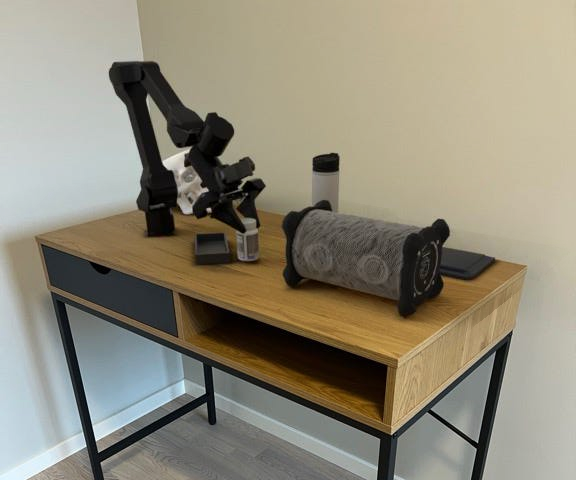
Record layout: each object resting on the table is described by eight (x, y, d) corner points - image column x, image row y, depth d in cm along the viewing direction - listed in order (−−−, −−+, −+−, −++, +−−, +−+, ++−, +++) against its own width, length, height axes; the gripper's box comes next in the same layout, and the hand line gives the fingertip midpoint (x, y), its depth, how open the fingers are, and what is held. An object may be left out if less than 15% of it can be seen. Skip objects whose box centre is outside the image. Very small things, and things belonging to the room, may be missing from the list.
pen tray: (230, 262, 131) (229, 252, 130) (196, 264, 130) (195, 254, 129) (226, 241, 145) (225, 232, 144) (195, 243, 144) (194, 233, 143)
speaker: (408, 323, 103) (417, 238, 95) (279, 288, 118) (277, 212, 110) (444, 296, 113) (455, 217, 106) (321, 267, 128) (322, 196, 121)
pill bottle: (260, 254, 133) (259, 217, 129) (257, 261, 129) (256, 223, 125) (239, 254, 134) (237, 217, 130) (236, 261, 130) (234, 223, 126)
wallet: (383, 254, 129) (415, 237, 140) (382, 262, 130) (414, 245, 141) (470, 272, 119) (498, 253, 129) (468, 281, 120) (496, 261, 130)
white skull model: (201, 213, 160) (172, 144, 156) (161, 236, 174) (134, 173, 170) (235, 203, 169) (209, 138, 165) (195, 226, 183) (170, 166, 180)
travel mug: (343, 241, 144) (346, 154, 134) (325, 247, 140) (327, 158, 130) (323, 236, 148) (325, 151, 138) (306, 242, 144) (306, 155, 134)
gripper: (197, 151, 115) (242, 217, 115) (257, 138, 128) (298, 198, 128) (173, 187, 123) (215, 249, 123) (232, 172, 136) (271, 228, 136)
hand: (252, 229), depth 128 cm, fingers closed on pill bottle, 4 cm apart
